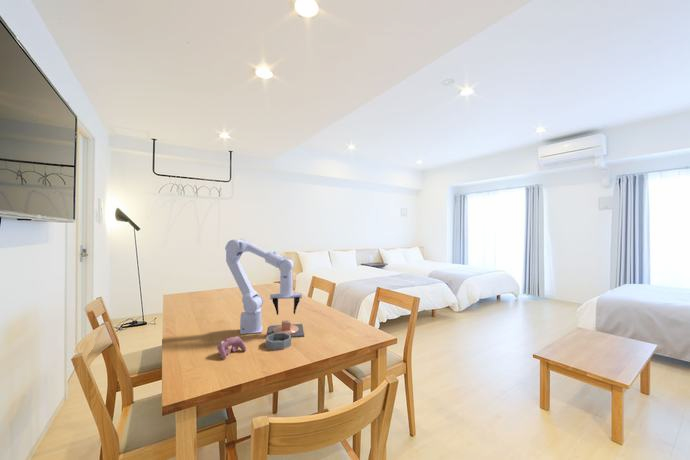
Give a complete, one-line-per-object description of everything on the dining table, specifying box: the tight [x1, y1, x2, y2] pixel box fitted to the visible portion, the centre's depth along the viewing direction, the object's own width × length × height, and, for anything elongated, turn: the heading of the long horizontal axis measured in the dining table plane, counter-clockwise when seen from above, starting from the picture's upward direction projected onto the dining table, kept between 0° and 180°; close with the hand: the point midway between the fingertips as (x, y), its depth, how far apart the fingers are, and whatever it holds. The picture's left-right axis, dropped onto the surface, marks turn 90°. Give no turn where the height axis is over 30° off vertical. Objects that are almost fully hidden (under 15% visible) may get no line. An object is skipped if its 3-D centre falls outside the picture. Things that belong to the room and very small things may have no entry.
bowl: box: [265, 333, 292, 351], centre depth 120 cm, size 10×10×3 cm
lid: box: [273, 319, 299, 335], centre depth 133 cm, size 12×12×4 cm
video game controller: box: [216, 336, 247, 360], centre depth 111 cm, size 10×5×7 cm, turn 142°
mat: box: [267, 323, 305, 338], centre depth 134 cm, size 16×15×1 cm
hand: (285, 313), depth 134 cm, fingers open, 7 cm apart
